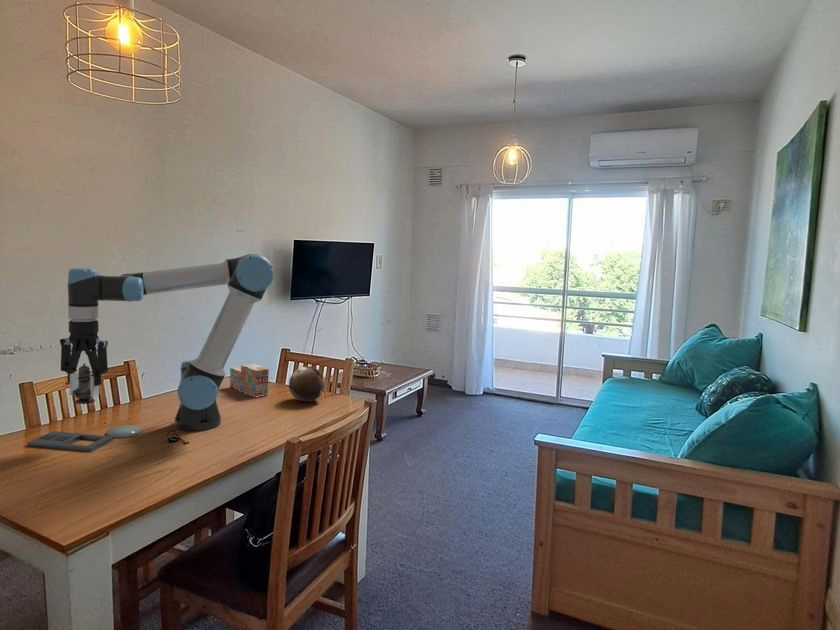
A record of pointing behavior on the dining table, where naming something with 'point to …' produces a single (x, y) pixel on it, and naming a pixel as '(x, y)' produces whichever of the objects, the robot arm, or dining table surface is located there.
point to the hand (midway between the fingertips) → (84, 394)
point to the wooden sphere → (307, 383)
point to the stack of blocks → (250, 379)
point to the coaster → (124, 431)
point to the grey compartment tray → (69, 441)
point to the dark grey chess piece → (83, 386)
